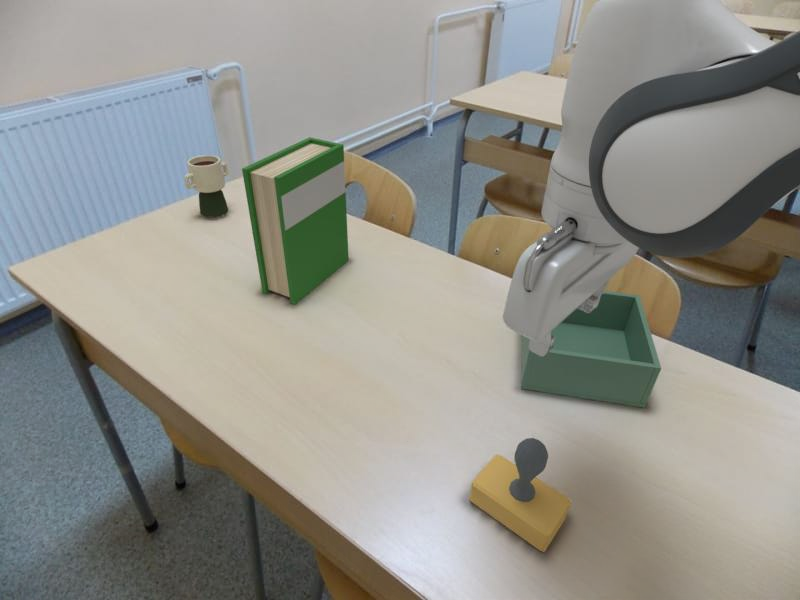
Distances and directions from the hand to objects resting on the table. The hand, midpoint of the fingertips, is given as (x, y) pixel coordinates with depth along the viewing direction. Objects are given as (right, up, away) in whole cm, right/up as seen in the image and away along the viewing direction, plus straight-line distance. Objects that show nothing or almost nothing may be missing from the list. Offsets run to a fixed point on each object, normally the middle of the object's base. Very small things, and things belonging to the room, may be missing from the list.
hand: (564, 328), depth 52 cm
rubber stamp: (-3, -22, +9) cm, 24 cm away
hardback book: (-35, +7, +49) cm, 60 cm away
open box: (+12, -7, +31) cm, 33 cm away
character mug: (-60, +23, +69) cm, 94 cm away
